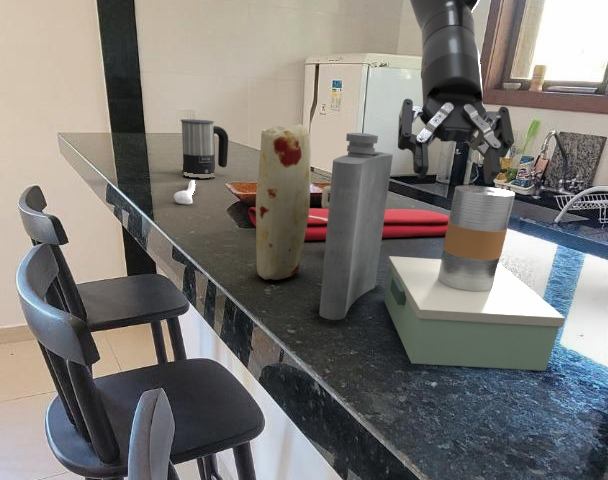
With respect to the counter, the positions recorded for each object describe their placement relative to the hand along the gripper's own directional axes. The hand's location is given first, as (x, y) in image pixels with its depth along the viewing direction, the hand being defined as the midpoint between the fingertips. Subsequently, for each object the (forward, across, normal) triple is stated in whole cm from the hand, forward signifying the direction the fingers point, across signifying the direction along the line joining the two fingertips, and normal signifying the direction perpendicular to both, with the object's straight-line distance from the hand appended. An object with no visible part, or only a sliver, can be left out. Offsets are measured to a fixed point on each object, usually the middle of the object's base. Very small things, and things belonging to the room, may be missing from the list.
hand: (457, 177), depth 66 cm
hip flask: (+13, -12, +9) cm, 20 cm away
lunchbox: (+20, -1, +3) cm, 20 cm away
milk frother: (-55, -47, +78) cm, 107 cm away
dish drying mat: (-15, -6, +37) cm, 41 cm away
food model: (+8, -22, +15) cm, 27 cm away
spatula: (-34, -45, +56) cm, 79 cm away
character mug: (-1, -10, +23) cm, 26 cm away
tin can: (+15, -1, -2) cm, 15 cm away
